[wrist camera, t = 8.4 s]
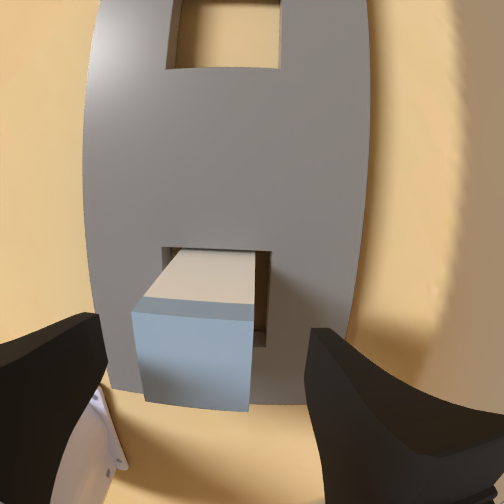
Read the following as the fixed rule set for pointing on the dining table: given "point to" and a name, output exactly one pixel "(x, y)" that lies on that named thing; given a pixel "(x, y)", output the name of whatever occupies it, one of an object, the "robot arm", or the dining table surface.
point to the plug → (198, 330)
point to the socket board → (228, 173)
